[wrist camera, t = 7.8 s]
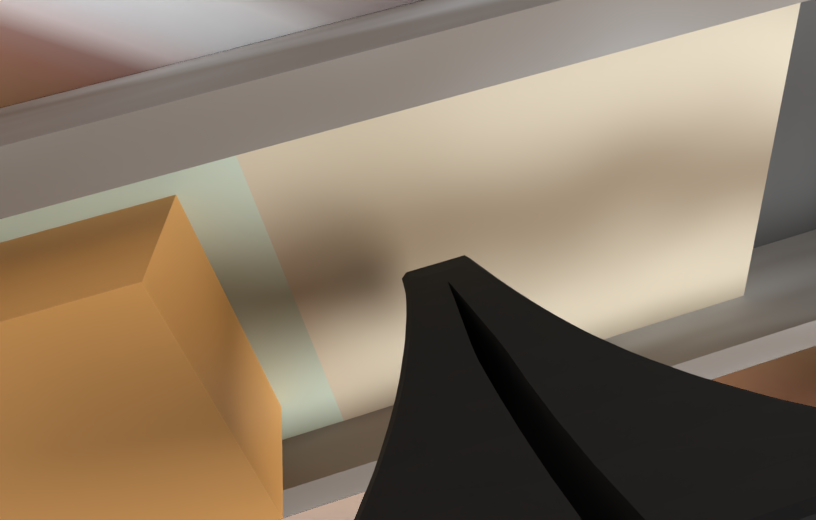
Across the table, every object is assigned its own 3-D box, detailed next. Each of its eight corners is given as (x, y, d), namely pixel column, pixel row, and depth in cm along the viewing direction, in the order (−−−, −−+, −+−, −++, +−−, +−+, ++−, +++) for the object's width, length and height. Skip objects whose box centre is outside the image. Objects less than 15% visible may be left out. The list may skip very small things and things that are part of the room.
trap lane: (927, 212, 17) (1059, 266, 14) (-203, 560, 15) (-320, 713, 12) (1077, -167, 12) (1337, -203, 9) (-669, 279, 9) (-1099, 432, 6)
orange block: (281, 407, 13) (283, 518, 11) (38, 482, 13) (-21, 616, 10) (175, 194, 10) (141, 281, 7) (-158, 285, 9) (-317, 412, 7)
